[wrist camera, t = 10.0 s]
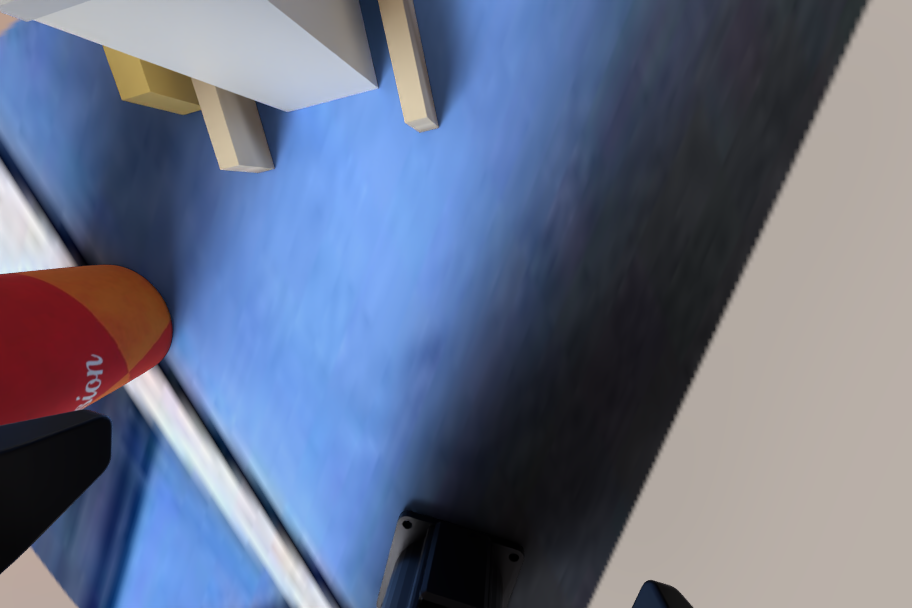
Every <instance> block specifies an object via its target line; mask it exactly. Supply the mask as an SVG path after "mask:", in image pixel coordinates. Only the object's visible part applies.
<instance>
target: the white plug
mask: <svg viewBox="0 0 912 608" xmlns="http://www.w3.org/2000/svg"><path fill="white" fill-rule="evenodd" d="M0 12H2V13H4V14H7V15H10V16H13V17H15V18H18V19H21V20H24V21H27V22H28V21H31V20H35V21H38V22H40V23H43V24H46V25H49V26H51V27H54V28H57V29H60V30H62V31H65V32H68V33H71V34H73V35H76V36H79V37H82V38H84V39H87V40H90V41H93V42H95V43H98V44H101V45H104V46H106V47H109V48H112V49H115V50H117V51H120V52H123V53H126V54H128V55H131V56H134V57H137V58H139V59H142V60H145V61H148V62H150V63H153V64H156V65H159V66H161V67H164V68H167V69H170V70H172V71H175V72H178V73H181V74H183V75H186V76H189V77H192V78H195V79H197V80H200V81H203V82H206V83H208V84H211V85H214V86H217V87H219V88H222V89H225V90H228V91H230V92H233V93H236V94H239V95H241V96H244V97H247V98H250V99H252V100H255V101H258V102H261V103H263V104H266V105H269V106H272V107H274V108H277V109H280V110H283V111H285V112H291V111H294V110H298V109H302V108H306V107H310V106H313V105H317V104H321V103H325V102H329V101H332V100H336V99H340V98H344V97H348V96H352V95H355V94H359V93H363V92H367V91H371V90H374V89H378V84H377V80H376V75H375V71H374V66H373V62H372V57H371V53H370V48H369V44H368V39H367V35H366V30H365V26H364V21H363V17H362V12H361V8H360V3H359V0H0Z"/></svg>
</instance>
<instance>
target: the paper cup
mask: <svg viewBox="0 0 912 608" xmlns="http://www.w3.org/2000/svg"><path fill="white" fill-rule="evenodd" d="M172 334H173V328H172V320H171V316H170V313H169V310H168V307H167V305H166V303H165V301H164V299H163V298H162V296H161V295H160V293H159V292H158V291H157V289H156V288H155V287H154V286H153V285H152V284H151V283H150V282H149V281H148V280H147V279H145V278H144V277H143V276H141V275H140V274H138V273H137V272H135V271H133V270H130V269H128V268H125V267H122V266H117V265H90V266H79V267H67V268H57V269H47V270H37V271H27V272H18V273H8V274H0V425H5V424H10V423H15V422H20V421H25V420H31V419H36V418H41V417H46V416H51V415H56V414H61V413H66V412H71V411H76V410H81V409H83V408H85V407H87V406H88V405H90V404H92V403H94V402H95V401H97V400H99V399H101V398H102V397H104V396H106V395H107V394H109V393H111V392H113V391H114V390H116V389H118V388H120V387H121V386H123V385H125V384H126V383H128V382H130V381H131V380H133V379H135V378H136V377H138V376H140V375H141V374H143V373H145V372H146V371H148V370H149V369H151V368H152V367H154V366H155V365H156V364H158V363H159V362H160V361H161V360H162V359H163V358H164V357H165V355H166V354H167V352H168V350H169V348H170V345H171V341H172Z"/></svg>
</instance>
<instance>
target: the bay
mask: <svg viewBox="0 0 912 608" xmlns="http://www.w3.org/2000/svg"><path fill="white" fill-rule="evenodd" d="M378 3H379V8H380V12H381V17H382V21H383V26H384V30H385V35H386V39H387V44H388V48H389V53H390V57H391V62H392V66H393V71H394V75H395V80H396V84H397V89H398V93H399V98H400V102H401V107H402V112H403V116H404V121H405V123H406V124H408V125H409V126H411V127H412V128H414V129H415V130H417V131H418V132H424V131H428V130H433V129H437V128H439V126H438V121H437V116H436V111H435V106H434V102H433V97H432V92H431V87H430V82H429V77H428V72H427V68H426V63H425V58H424V53H423V48H422V43H421V38H420V33H419V29H418V24H417V19H416V14H415V9H414V4H413V0H378ZM191 80H192V83H193V86H194V89H195V92H196V95H197V98H198V101H199V105H200V108H201V111H202V114H203V117H204V120H205V123H206V126H207V130H208V133H209V136H210V139H211V142H212V145H213V148H214V151H215V155H216V158H217V161H218V164H219V167H220V170H229V171H241V172H253V173H260V172H264V171H268V170H272V169H275V168H274V164H273V161H272V157H271V154H270V151H269V147H268V144H267V140H266V137H265V133H264V130H263V127H262V123H261V120H260V116H259V113H258V109H257V106H256V103H255V100H252V99H250V98H247V97H244V96H241V95H239V94H236V93H233V92H230V91H228V90H225V89H222V88H219V87H217V86H214V85H211V84H208V83H206V82H203V81H200V80H197V79H195V78H192V77H191Z"/></svg>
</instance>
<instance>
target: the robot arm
mask: <svg viewBox="0 0 912 608" xmlns="http://www.w3.org/2000/svg"><path fill="white" fill-rule="evenodd" d="M111 456H112V421H111V419H110V417H108V416H107V415H104V414H101V413H98V412H94V411H91V410H76V411H71V412H66V413H61V414H56V415H51V416H46V417H41V418H36V419H31V420H25V421H20V422H15V423H10V424H5V425H0V574H1V573H2V572H3V571H4V570H5V569H7V568H8V567H9V566H10V565H11V564H12V563H13V562H14V561H15V560H16V559H18V557H20V555H22V554H23V553H24V552H25V551H26V550H27V549H28V548H29V547H30V546H31V545H32V544H33V543H34V542H35V541H36V540H37V539H38V538H39V537H40V536H41V535H42V534H43V533H44V532H45V531H46V530H47V529H48V528H49V527H50V526H51V525H52V524H53V523H54V522H55V521H56V520H57V519H58V518H59V517H60V516H61V515H62V514H63V513H64V512H65V511H66V510H67V509H68V508H69V507H70V506H71V505H72V504H73V503H74V502H75V501H76V500H77V499H78V498H79V497H80V496H81V495H82V494H83V493H84V492H85V491H86V490H87V489H88V488H89V487H90V486H91V485H92V484H93V483H94V482H95V481H96V480H97V479H98V478H99V477H100V476H101V475H102V474H103V472H104V471H105V470H106V468H107V467H108V465H109V463H110V460H111ZM405 520H406V521H410V522H411V523H407V522H405ZM512 553H515V554H517V555H511V554H512ZM523 561H524V550H523V547H522V546H521V545H519V544H517V543H514V542H511V541H508V540H504V539H501V538H498V537H494V536H491V535H488V534H485V533H481V532H478V531H475V530H471V529H468V528H465V527H462V526H458V525H455V524H452V523H449V522H445V521H442V520H439V519H435V518H432V517H429V516H426V515H422V514H419V513H416V512H412V511H404V512H402V513H401V514H400V516H399V519H398V522H397V526H396V530H395V534H394V538H393V542H392V546H391V549H390V553H389V557H388V561H387V565H386V569H385V573H384V577H383V581H382V585H381V588H380V592H379V596H378V600H377V608H506V607H507V605H508V602H509V599H510V596H511V594H512V591H513V588H514V586H515V583H516V580H517V578H518V575H519V572H520V569H521V567H522V564H523ZM632 608H693V607H692V606H691V605H690V603H689V602H688V601H687V600H686V599H685V598H684V596H683V595H682V594H681V593H680V592H679V591H678V590H677V589H676V588H674V587H672V586H670V585H666V584H663V583H660V582H657V581H653V580H648V581H646V582H645V583H644V584H643V586H642V588H641V590H640V592H639V594H638V596H637V598H636V600H635V602H634V605H633V606H632Z"/></svg>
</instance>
